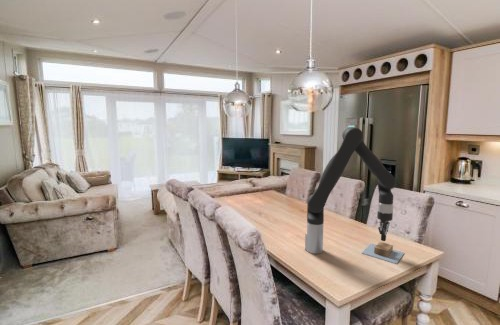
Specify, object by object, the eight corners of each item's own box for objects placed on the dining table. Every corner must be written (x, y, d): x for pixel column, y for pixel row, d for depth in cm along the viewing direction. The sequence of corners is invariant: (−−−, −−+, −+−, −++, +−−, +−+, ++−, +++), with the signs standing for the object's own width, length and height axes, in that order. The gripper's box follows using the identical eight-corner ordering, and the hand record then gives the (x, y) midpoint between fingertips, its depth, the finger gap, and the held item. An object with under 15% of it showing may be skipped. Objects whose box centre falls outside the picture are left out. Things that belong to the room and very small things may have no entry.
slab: (374, 247, 149) (380, 241, 156) (374, 253, 149) (379, 247, 156) (388, 251, 144) (393, 245, 151) (387, 257, 144) (392, 250, 152)
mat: (361, 253, 150) (361, 252, 150) (371, 244, 162) (371, 243, 162) (396, 264, 138) (396, 263, 138) (404, 253, 150) (404, 252, 150)
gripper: (381, 206, 153) (379, 235, 155) (374, 212, 143) (372, 242, 145) (395, 209, 148) (394, 238, 150) (389, 215, 138) (387, 246, 140)
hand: (383, 240), depth 148 cm, fingers closed
